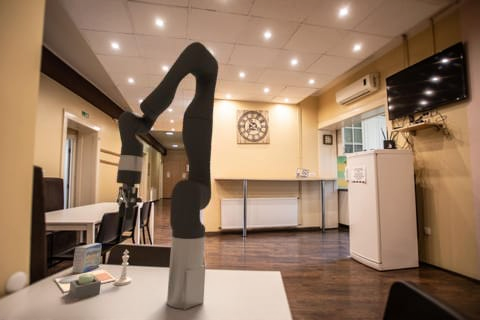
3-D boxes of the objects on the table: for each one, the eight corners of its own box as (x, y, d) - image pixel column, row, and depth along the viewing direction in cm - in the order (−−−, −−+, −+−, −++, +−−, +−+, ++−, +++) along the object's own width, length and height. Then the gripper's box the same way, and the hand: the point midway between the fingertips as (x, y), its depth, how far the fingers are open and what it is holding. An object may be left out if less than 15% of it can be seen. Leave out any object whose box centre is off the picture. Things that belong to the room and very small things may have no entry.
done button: (94, 284, 66) (95, 275, 67) (79, 288, 64) (80, 279, 64) (90, 281, 69) (91, 272, 69) (76, 284, 66) (77, 275, 66)
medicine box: (82, 273, 81) (85, 247, 82) (71, 272, 81) (74, 247, 83) (99, 266, 88) (102, 243, 90) (89, 265, 89) (92, 242, 90)
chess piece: (111, 283, 73) (114, 250, 75) (125, 278, 78) (128, 247, 79) (121, 286, 71) (124, 252, 73) (134, 281, 75) (137, 249, 77)
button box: (99, 293, 66) (100, 281, 66) (74, 300, 62) (76, 287, 62) (93, 287, 70) (94, 276, 70) (69, 292, 66) (70, 281, 66)
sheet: (116, 280, 76) (116, 278, 76) (63, 292, 66) (64, 290, 66) (102, 270, 84) (103, 269, 85) (54, 280, 74) (54, 278, 74)
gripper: (148, 170, 76) (143, 220, 74) (135, 171, 87) (130, 215, 85) (123, 167, 72) (117, 221, 69) (113, 169, 82) (107, 216, 80)
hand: (124, 218), depth 77 cm, fingers open, 8 cm apart
